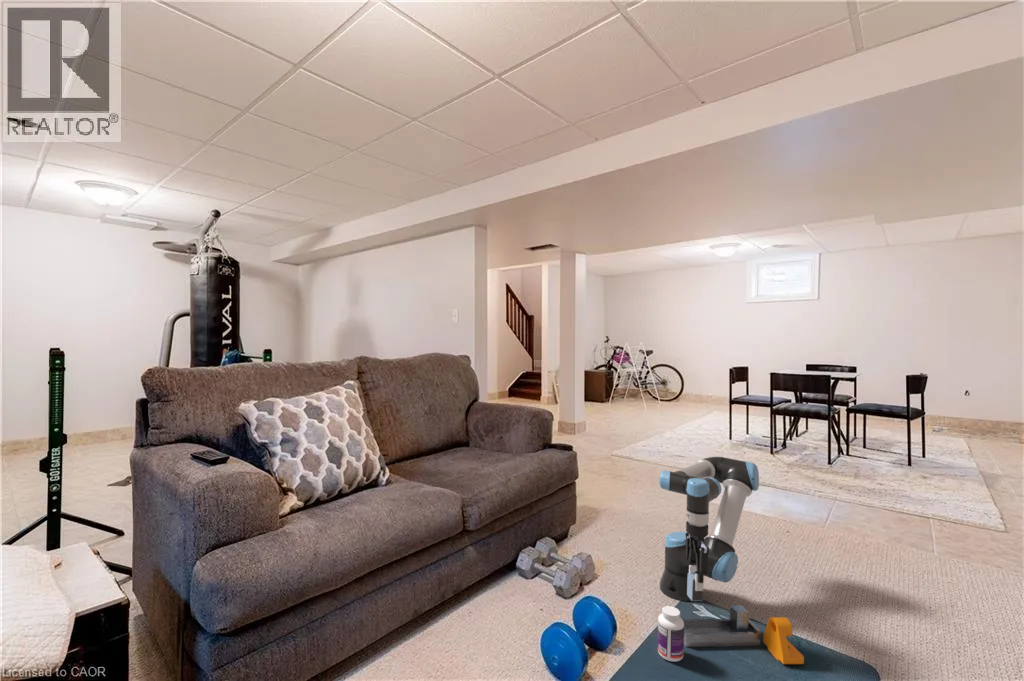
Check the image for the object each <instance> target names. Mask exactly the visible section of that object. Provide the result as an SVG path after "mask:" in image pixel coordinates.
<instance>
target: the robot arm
mask: <svg viewBox="0 0 1024 681" xmlns="http://www.w3.org/2000/svg"><path fill="white" fill-rule="evenodd" d="M658 484H659V487H660V488H661V489H662V490H665V491H668V492H673V493H677V494H681V495H685V496H686V513H685V516H686V519H685V520H686V521H685V531H674V532H669V533H668V534H667V535H666V536H665V543H664V570H663V573H662V576H661V578H660V579H659V580H660V581H659V589H660V591H661V593H663V594H664V595H665V596H667V597H669V598H672V599H674V600H678V601H685V602H686V601H687V602H689V601H691V599H690V598H689V597H688V595H687V578H688V573H695V590H696V591H703V592H704V578H705V577H707V578H709V579H712V580H714V581H717V582H722V583H729V582H730V581H732V579H733V578H734V576H735V574H736V573H737V569H738V564H739V556H738V554H737V553H736V549H735V547H734V546H733V545H734V541H735V537H736V535H737V531H738V527H739V523H740V519H741V516H742V513H743V510H744V505H745V503H746V498H747V497H750V496H751V495H752V492H757V491H758V490H759V486H760V474H759V468H758V466H757V465H756V463H754V462H750V461H748V460H745V461H744V460H739V459H734V458H730V457H723V456H711V457H705V458H701V459H698V460H697V461H695V463H693V464H692V465H689V466H686V467H683V468H681V469H679V470H676V471H670V470H662V471H661V473H660V474H659V479H658ZM721 484H722V485H721ZM722 487H723V489H722ZM722 490H723V493H722ZM720 494H722V496H721V499H720V503H719V505H718V509H717V513H716V515H715V518H714V523H713V524H712V528H711V531H710V535H709V525H708V524H709V518H710V517H709V516H710V515H709V513H710V511H709V508H710V503H711V502H712V501H713V500H716V499H717V498H718V497H719V496H720ZM691 602H692V601H691Z"/></svg>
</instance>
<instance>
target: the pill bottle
mask: <svg viewBox="0 0 1024 681" xmlns="http://www.w3.org/2000/svg"><path fill="white" fill-rule="evenodd" d="M682 619H683V618H682V617H681V611H680V610H679V609H678V608H677V607H675V606H671V605H666V606H663V607H662V609H661V613H660V614H659V615H658V617H657V653H658V654H659V655H660V657H661V658H662V659H664V660H666V661H669V662H680V661H681V660H683V658H684V655H685V654H684V650H685V648H684V647H685V645H684V622H683V620H682Z"/></svg>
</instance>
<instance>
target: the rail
mask: <svg viewBox="0 0 1024 681" xmlns="http://www.w3.org/2000/svg"><path fill="white" fill-rule="evenodd" d="M729 610H730V611H729V618H700V619H699V618H695V619H694V618H688V619H684V618H681V619H682V620H683V622H684V647H685V648H689V647H690V648H694V647H695V648H696V647H697V648H699V647H701V648H703V647H737V646H738V647H745V646H747V647H753V646H761V629H760V628H758V626H757V625H756V624H754V623H753V621H751V619H750V618H749V611H748V610H747V609H746V608H745V607H744V606H743V605H742V604H741V605H737V604H736V605H730V607H729Z"/></svg>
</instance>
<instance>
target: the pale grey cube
mask: <svg viewBox="0 0 1024 681" xmlns="http://www.w3.org/2000/svg"><path fill="white" fill-rule="evenodd" d="M687 595H688V597H689V598H690V599H691V602H703V601H704V600H703V599H704V598H703V597H704V590H703V591H696V590H695V573H688V578H687Z"/></svg>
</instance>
